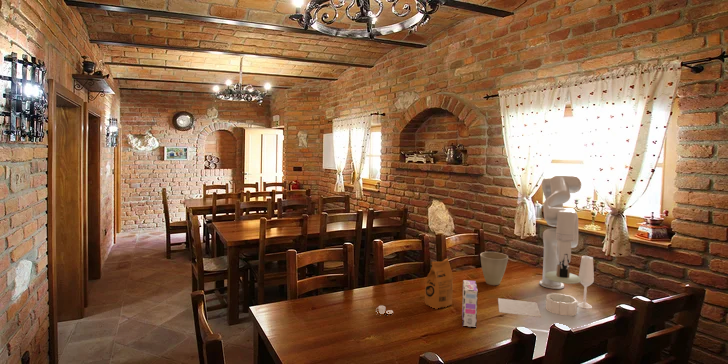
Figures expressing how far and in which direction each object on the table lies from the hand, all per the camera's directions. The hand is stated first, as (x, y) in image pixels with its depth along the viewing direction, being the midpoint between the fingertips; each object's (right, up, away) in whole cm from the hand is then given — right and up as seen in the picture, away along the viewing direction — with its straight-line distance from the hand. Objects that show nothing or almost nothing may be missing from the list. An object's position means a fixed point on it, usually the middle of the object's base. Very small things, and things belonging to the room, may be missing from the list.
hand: (562, 275), depth 197 cm
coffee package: (-57, -16, +7) cm, 59 cm away
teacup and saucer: (-82, -18, -7) cm, 85 cm away
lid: (0, -1, 0) cm, 1 cm away
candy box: (-46, -18, -11) cm, 51 cm away
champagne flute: (+14, -17, +8) cm, 23 cm away
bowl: (0, -17, +2) cm, 17 cm away
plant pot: (-20, -13, +40) cm, 46 cm away
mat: (-19, -16, +4) cm, 26 cm away
